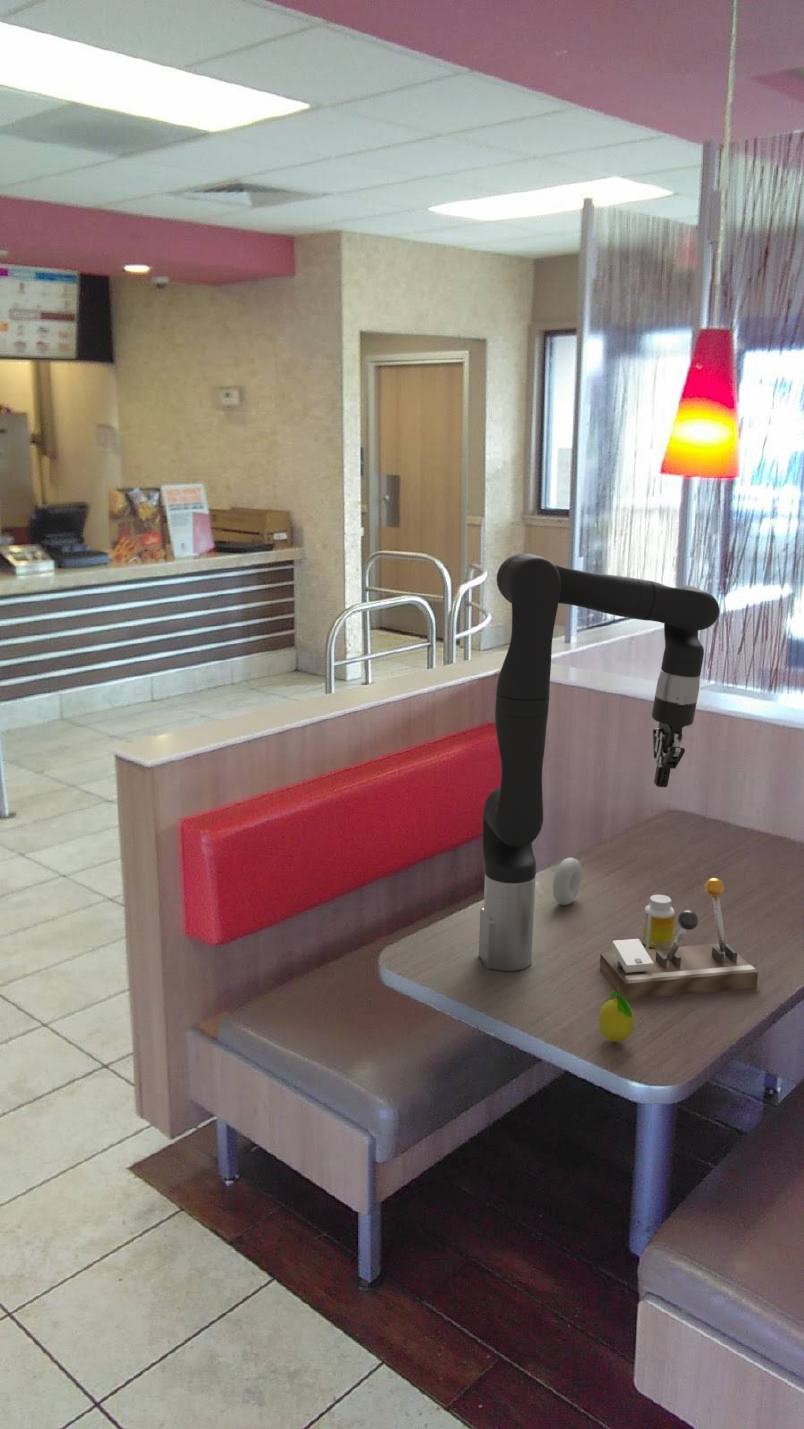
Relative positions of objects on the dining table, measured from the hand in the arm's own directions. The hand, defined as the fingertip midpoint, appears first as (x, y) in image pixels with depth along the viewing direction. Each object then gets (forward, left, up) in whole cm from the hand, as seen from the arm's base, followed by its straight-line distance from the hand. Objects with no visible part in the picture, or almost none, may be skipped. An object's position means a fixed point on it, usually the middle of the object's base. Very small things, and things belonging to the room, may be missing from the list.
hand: (660, 785), depth 209 cm
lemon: (-20, -33, -32) cm, 50 cm away
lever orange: (+8, -14, -29) cm, 33 cm away
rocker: (-10, -14, -27) cm, 32 cm away
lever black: (-3, -14, -29) cm, 32 cm away
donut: (-9, +21, -32) cm, 39 cm away
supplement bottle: (+1, -2, -32) cm, 32 cm away
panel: (-1, -14, -32) cm, 35 cm away
